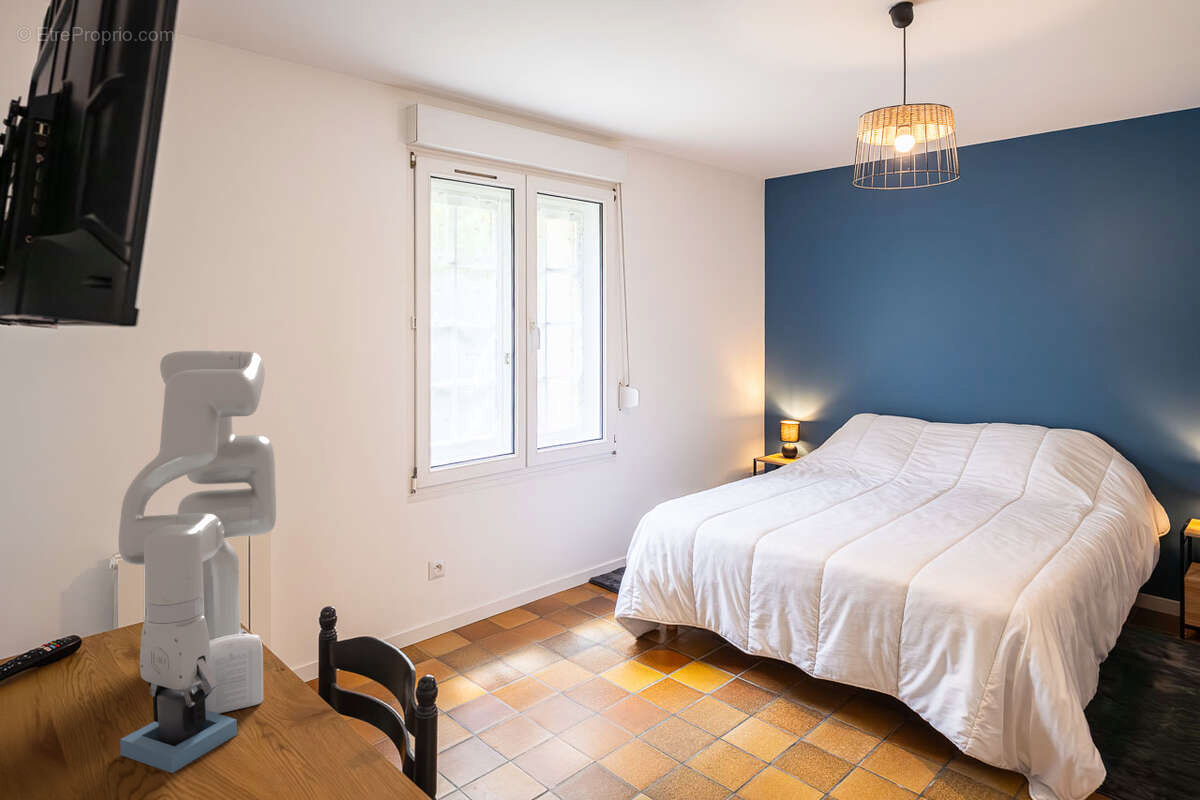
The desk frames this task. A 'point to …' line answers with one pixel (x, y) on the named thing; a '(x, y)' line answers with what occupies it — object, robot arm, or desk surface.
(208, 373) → the robot arm
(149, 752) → the collar
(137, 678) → the desk surface
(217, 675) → the photo printer
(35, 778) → the desk surface
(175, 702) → the dark grey cylinder
